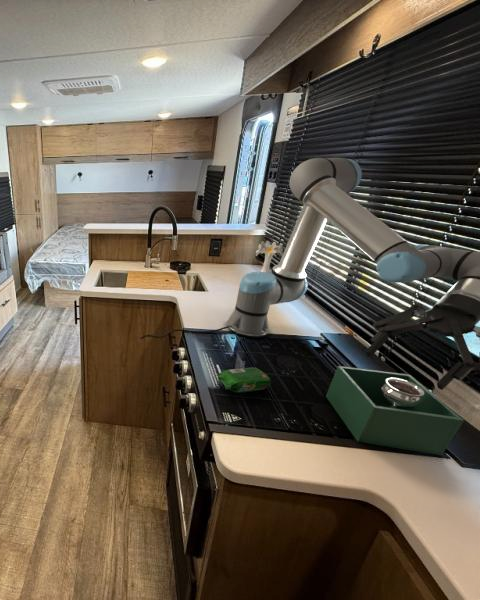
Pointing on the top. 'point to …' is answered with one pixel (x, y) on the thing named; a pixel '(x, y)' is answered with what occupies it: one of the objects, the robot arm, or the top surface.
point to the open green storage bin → (391, 413)
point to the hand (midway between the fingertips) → (400, 369)
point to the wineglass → (402, 392)
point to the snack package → (244, 380)
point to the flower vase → (268, 253)
